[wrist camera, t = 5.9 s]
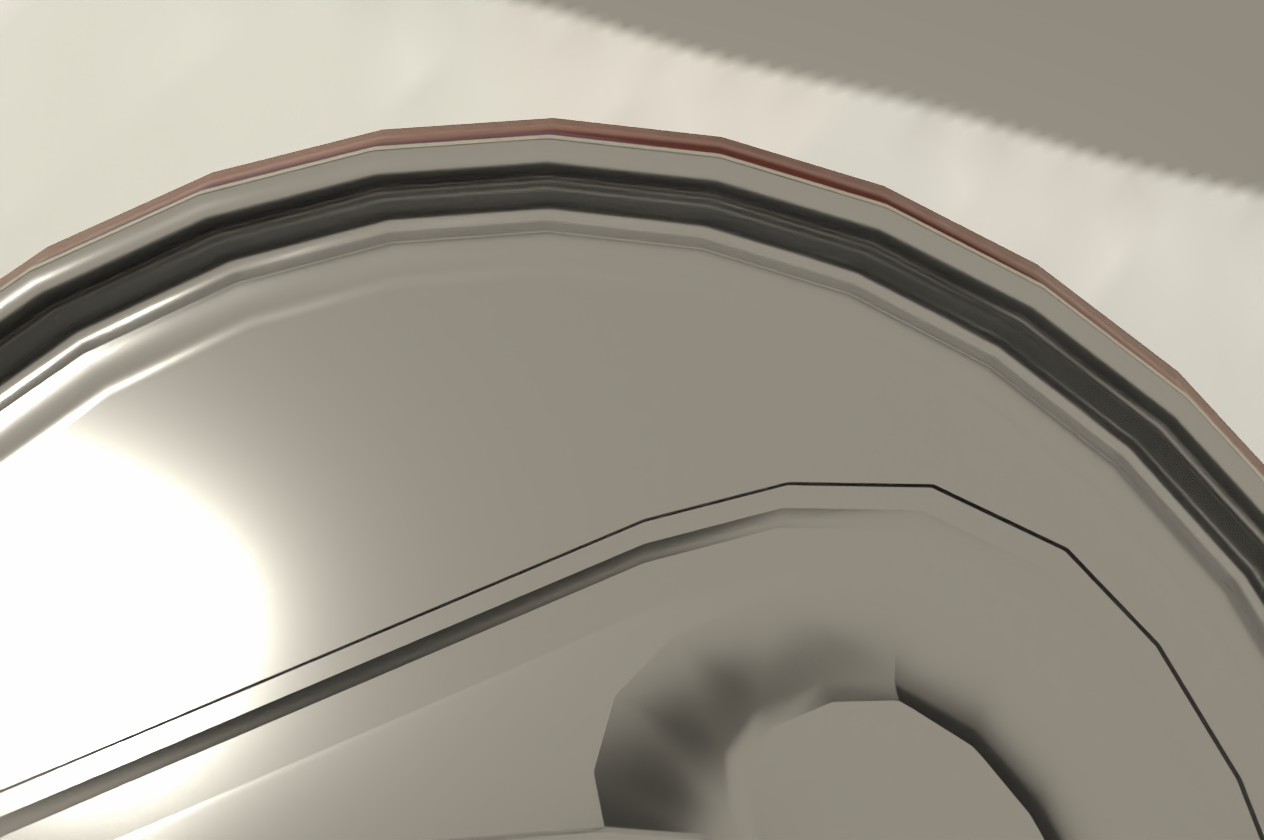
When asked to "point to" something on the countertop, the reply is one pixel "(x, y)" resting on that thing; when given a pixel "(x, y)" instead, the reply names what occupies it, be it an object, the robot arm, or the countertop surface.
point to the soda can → (605, 515)
